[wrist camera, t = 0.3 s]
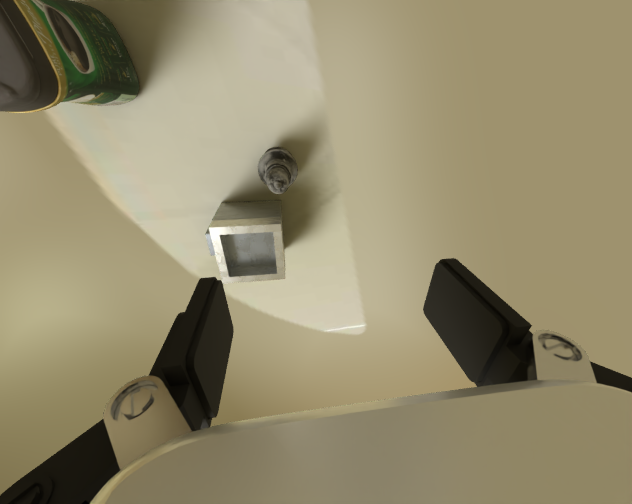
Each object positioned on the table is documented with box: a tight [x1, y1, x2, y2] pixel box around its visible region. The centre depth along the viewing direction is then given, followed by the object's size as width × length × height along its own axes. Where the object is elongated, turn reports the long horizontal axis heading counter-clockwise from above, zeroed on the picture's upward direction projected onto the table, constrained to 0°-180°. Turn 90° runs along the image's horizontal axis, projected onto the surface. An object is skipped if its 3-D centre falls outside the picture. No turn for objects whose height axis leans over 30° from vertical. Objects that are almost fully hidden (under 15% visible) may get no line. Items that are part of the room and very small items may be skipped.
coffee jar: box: [0, 0, 139, 113], centre depth 24 cm, size 10×8×19 cm
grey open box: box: [205, 200, 285, 284], centre depth 42 cm, size 13×12×10 cm
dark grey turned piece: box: [258, 147, 298, 194], centre depth 35 cm, size 6×6×12 cm
